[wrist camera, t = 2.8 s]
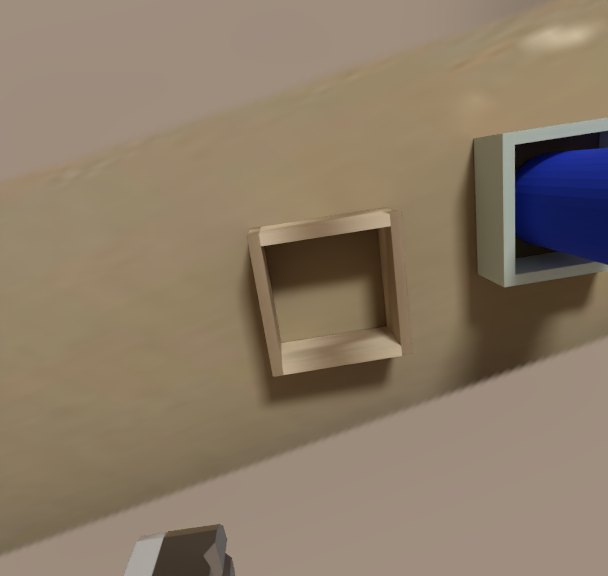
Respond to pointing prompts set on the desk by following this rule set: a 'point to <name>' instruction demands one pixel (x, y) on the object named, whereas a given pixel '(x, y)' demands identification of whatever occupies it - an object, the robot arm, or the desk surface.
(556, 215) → the beverage can
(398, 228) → the bin oak
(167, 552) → the robot arm
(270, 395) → the desk surface
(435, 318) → the desk surface
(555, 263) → the bin sage
